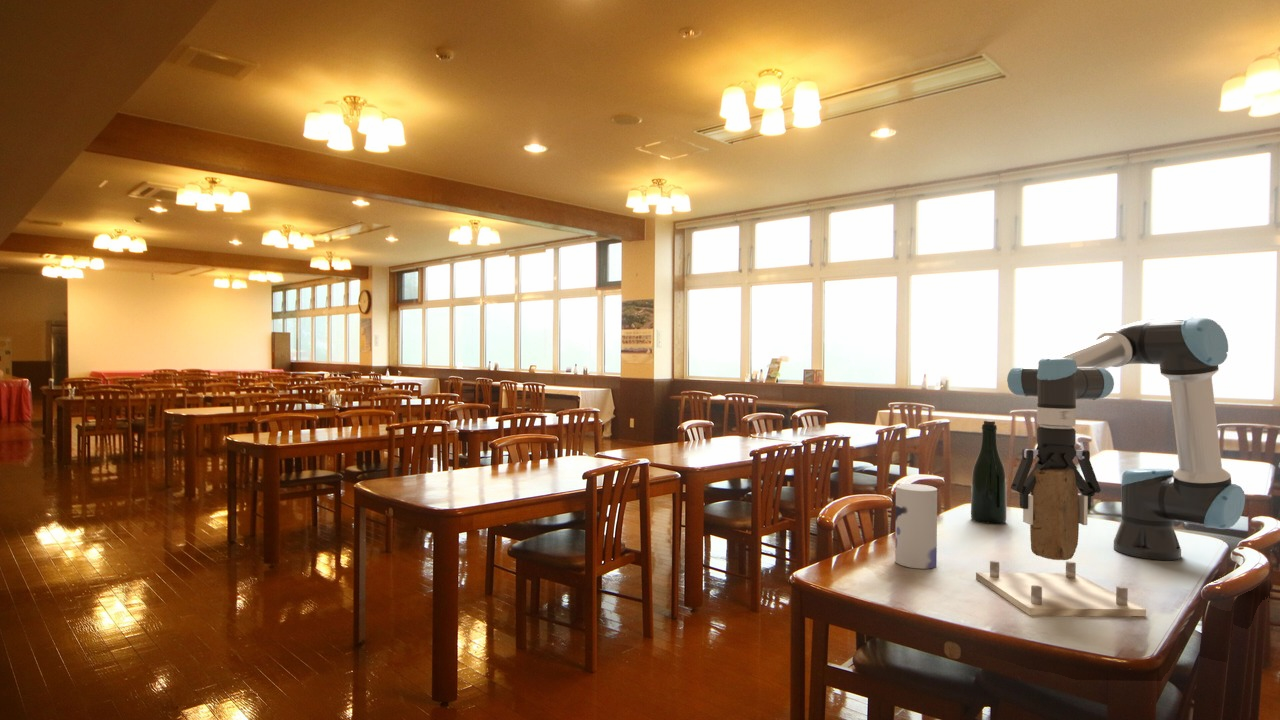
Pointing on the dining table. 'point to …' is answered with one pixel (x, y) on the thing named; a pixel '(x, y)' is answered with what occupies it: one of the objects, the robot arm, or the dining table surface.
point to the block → (1055, 514)
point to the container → (916, 526)
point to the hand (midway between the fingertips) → (1054, 523)
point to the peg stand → (1059, 593)
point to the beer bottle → (988, 480)
